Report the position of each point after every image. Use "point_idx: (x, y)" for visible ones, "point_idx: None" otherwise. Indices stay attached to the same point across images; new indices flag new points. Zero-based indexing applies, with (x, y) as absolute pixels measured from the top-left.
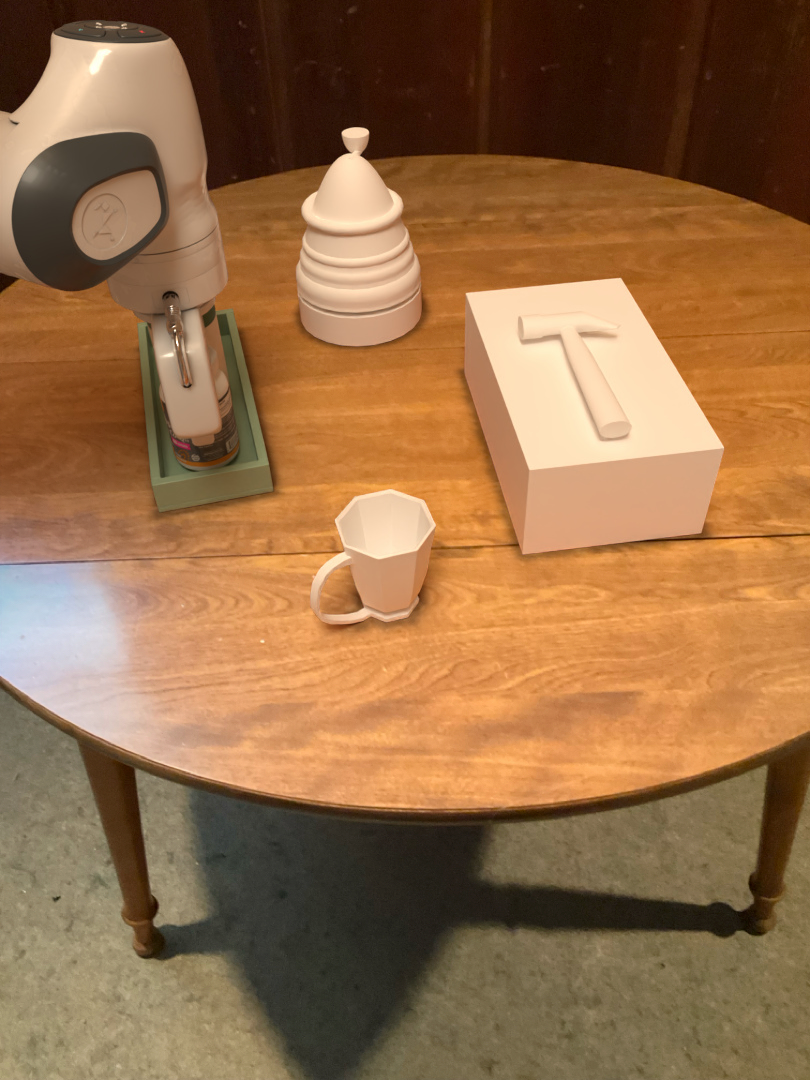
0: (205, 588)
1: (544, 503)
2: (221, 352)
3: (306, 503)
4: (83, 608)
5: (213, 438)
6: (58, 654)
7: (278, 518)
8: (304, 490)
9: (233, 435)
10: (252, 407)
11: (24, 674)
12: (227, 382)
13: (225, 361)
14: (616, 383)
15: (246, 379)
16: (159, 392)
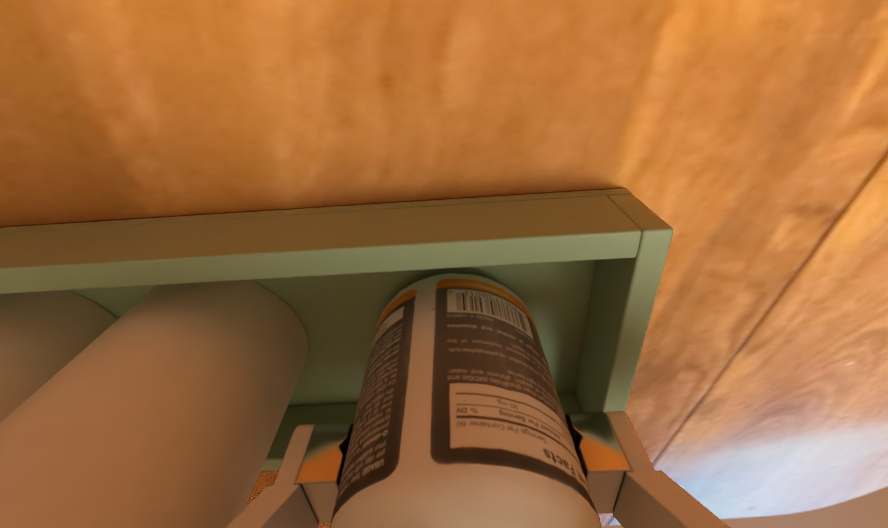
0: (837, 332)
1: None
2: (118, 402)
3: (719, 100)
4: (747, 465)
5: (629, 421)
6: (812, 481)
7: (732, 184)
8: (660, 100)
9: (506, 321)
10: (353, 258)
11: (816, 503)
12: (479, 481)
13: (123, 348)
14: None
15: (185, 267)
16: None
